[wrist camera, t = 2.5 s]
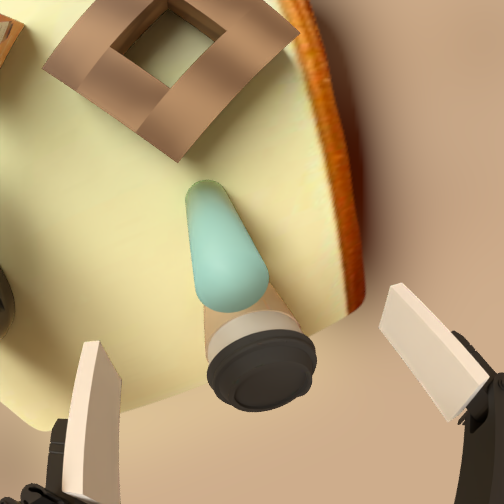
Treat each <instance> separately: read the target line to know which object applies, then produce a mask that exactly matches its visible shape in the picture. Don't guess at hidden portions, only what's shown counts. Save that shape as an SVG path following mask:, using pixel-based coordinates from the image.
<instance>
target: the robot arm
mask: <svg viewBox="0 0 504 504" xmlns="http://www.w3.org/2000/svg"><path fill="white" fill-rule="evenodd" d="M14 313H15V305H14V299H13V295H12V291H11V289H10V286H9V284H8V281H7V279H6V277H5V275H4V274H3V272H2V270H1V269H0V340H1V339H2V338H3V337H4V336H5V334H6V333H7V331H8V329H9V327H10V325H11V323H12V321H13V318H14ZM378 328H379V329H380V330H381V332H382V333H383V334H384V336H385V337H386V338H387V339H388V341H389V342H390V343H391V345H392V346H393V347H394V349H395V350H396V351H397V353H398V354H399V355H400V356H401V358H402V359H403V361H404V362H405V363H406V364H407V366H408V367H409V368H410V370H411V371H412V373H413V374H414V375H415V377H416V378H417V380H418V381H419V382H420V384H421V385H422V386H423V388H424V389H425V391H426V392H427V393H428V395H429V396H430V398H431V399H432V400H433V402H434V403H435V405H436V406H437V407H438V409H439V410H440V412H441V413H442V415H443V416H444V417H445V419H446V421H447V422H449V421H451V420H452V419H454V418H455V417H456V416H458V415H459V414H460V413H461V412H462V411H463V410H464V408H465V407H466V408H467V411H466V413H464V415H463V416H462V417H461V418H460V419H459V421H458V425H459V424H461V423H462V422H463V421H464V420H465V421H464V423H463V424H462V425H465V432H464V445H463V455H462V463H461V469H460V476H459V482H458V488H457V493H456V497H455V502H454V504H504V373H498V374H497V373H496V372H495V371H494V370H493V369H492V368H491V367H490V366H489V365H488V364H487V362H486V361H485V360H484V359H483V358H482V357H481V355H480V354H479V353H478V352H477V351H475V349H474V348H473V346H472V345H470V343H469V342H468V341H467V340H466V339H465V338H464V337H463V336H462V335H460V334H459V333H457V332H456V331H452V332H450V331H449V330H448V329H447V328H446V327H445V326H444V324H443V323H442V322H441V321H440V320H439V319H438V318H437V317H436V316H435V315H434V314H433V313H432V312H431V311H430V310H429V309H428V308H427V307H426V306H425V305H424V304H423V303H422V302H421V301H420V300H419V299H418V298H417V297H416V296H415V295H414V294H413V293H412V292H411V291H410V290H409V289H408V288H407V287H406V286H405V285H404V284H403V283H399V284H395V285H392V286H390V289H389V293H388V296H387V300H386V304H385V307H384V311H383V314H382V318H381V321H380V324H379V327H378ZM121 385H122V380H121V378H120V376H119V375H118V373H117V371H116V369H115V368H114V366H113V364H112V362H111V361H110V359H109V357H108V355H107V353H106V352H105V350H104V348H103V346H102V344H101V342H100V340H99V341H88V342H84V344H83V348H82V352H81V356H80V360H79V365H78V369H77V374H76V379H75V384H74V389H73V394H72V399H71V405H70V411H69V418H68V419H57V421H56V423H55V425H54V427H53V428H52V433H51V441H50V442H51V444H50V447H49V452H50V453H49V456H48V465H47V476H46V488H43V487H42V486H40V485H38V484H33V483H31V484H28V485H26V486H25V487H24V488H23V489H22V492H21V501H19V502H18V501H16V500H14V499H12V498H10V497H4V498H3V499H1V500H0V504H121V501H120V484H119V418H120V399H121Z"/></svg>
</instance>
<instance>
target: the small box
mask: <svg viewBox="0 0 504 504" xmlns="http://www.w3.org/2000/svg"><path fill="white" fill-rule="evenodd" d="M23 27H24V23H21V22H19V21H17V20H15V19H12V18H10V17H7V16H5V15H3V14H0V68H1V66H2V64H3V62H4V60H5V58H6V56H7V54H8V53H9V51H10V49H11V47H12V45H13V44H14V42H15V40H16V38H17V37H18V35H19V33H20V32H21V30H22V29H23Z"/></svg>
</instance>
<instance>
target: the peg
mask: <svg viewBox="0 0 504 504" xmlns="http://www.w3.org/2000/svg"><path fill="white" fill-rule="evenodd" d="M185 201H186V213H187V223H188V232H189V241H190V250H191V259H192V267H193V274H194V282H195V289H196V293H197V296H198V298H199V299H200V301H201V302H202V303H203V304H204V305H205V306H206V307H208V308H210V309H212V310H214V311H217V312H223V313H233V312H238V311H242V310H245V309H247V308H249V307H251V306H252V305H254V304H255V303H256V302H257V301H258V300H260V298H261V297H262V296H263V295H264V293H265V291H266V289H267V287H268V283H269V273H268V269H267V267H266V265H265V263H264V261H263V260H262V258H261V256H260V254H259V252H258V250H257V248H256V247H255V245H254V243H253V241H252V239H251V237H250V236H249V234H248V232H247V230H246V228H245V226H244V224H243V223H242V221H241V219H240V217H239V215H238V213H237V212H236V210H235V208H234V206H233V204H232V202H231V201H230V199H229V197H228V195H227V193H226V191H225V190H224V188H223V187H222V186H221V185H220V184H219V183H217V182H215V181H212V180H203V181H199V182H197V183H195V184H194V185H193V186H192V187H191V188H190V189H189V190H188V192H187V195H186V200H185Z"/></svg>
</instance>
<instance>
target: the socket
mask: <svg viewBox="0 0 504 504" xmlns="http://www.w3.org/2000/svg"><path fill="white" fill-rule="evenodd" d="M167 9H169V10H171V11H172V12H174V13H176V14H177V15H179V16H180V17H181V18H183V19H184V20H186V21H187V22H189V23H190V24H192V25H193V26H194V27H196V28H197V29H199V30H200V31H201V32H203V33H204V34H205V35H207V36H208V37H209V38H211V39H212V40H213V41H215V42H214V43H213V44H212V45H211V46H210V47H209V48H208V49H207V50H206V51H205V52H204V53H203V54H202V55H201V56H200V57H199V58H198V59H197V60H196V61H195V62H194V63H193V64H192V65H191V66H190V68H189V69H188V70H187V71H186V72H185V73H184V74H183V75H182V76H181V77H180V78H179V80H178V81H177V82H176V83H175V84H174V85H173V86H172V87H171V89H170V88H169V87H167V86H166V85H165V84H163V83H162V82H160V81H159V80H158V79H156V78H155V77H153V76H152V75H151V74H149V73H148V72H146V71H145V70H143V69H142V68H141V67H139V66H138V65H136V64H135V63H133V62H132V61H130V60H129V59H127V58H126V57H124V56H123V55H124V54H125V53H126V52H127V50H128V49H129V48H130V47H131V46H132V45H133V44H134V42H135V41H136V40H137V39H138V38H139V37H140V36H141V35H142V34H143V33H144V32H145V31H146V30H147V29H148V28H149V27H150V26H151V25H152V24H153V23H154V22H155V21H156V20H157V19H158V18H159V17H160V16H161V15H162V14H163V13H164V12H165V11H166V10H167ZM299 34H300V32H299V31H298V30H297V29H296V28H294V27H293V26H292V25H291V24H290V23H289V22H288V21H287V20H286V19H285V18H283V17H282V16H281V15H280V14H279V13H278V12H277V11H275V10H274V9H273V8H272V7H271V6H269V5H268V4H267V3H266V2H265V1H263V0H96V1H95V2H94V3H93V4H92V5H91V6H90V7H89V8H88V9H87V10H86V11H85V13H84V14H83V15H82V16H81V17H80V18H79V19H78V21H77V22H76V23H75V24H74V25H73V27H72V28H71V29H70V30H69V32H68V33H67V34H66V35H65V37H64V38H63V39H62V41H61V42H60V43H59V45H58V46H57V47H56V49H55V50H54V51H53V53H52V54H51V56H50V57H49V59H48V60H47V61H46V63H45V64H44V66H43V67H42V69H43V70H45V71H46V72H48V73H49V74H51V75H52V76H54V77H55V78H57V79H58V80H60V81H61V82H63V83H64V84H66V85H67V86H69V87H70V88H72V89H73V90H75V91H76V92H78V93H79V94H81V95H82V96H84V97H85V98H87V99H88V100H89V101H91V102H92V103H94V104H95V105H97V106H98V107H100V108H101V109H102V110H104V111H105V112H107V113H108V114H110V115H111V116H113V117H114V118H115V119H117V120H118V121H120V122H121V123H123V124H124V125H125V126H127V127H128V128H130V129H131V130H132V131H134V132H135V133H137V134H138V135H139V136H141V137H142V138H144V139H145V140H146V141H148V142H149V143H151V144H152V145H153V146H155V147H156V148H158V149H159V150H160V151H162V152H163V153H164V154H166V155H167V156H169V157H170V158H171V159H173V160H174V161H175V162H177V163H178V162H179V161H180V160H181V158H182V157H183V156H184V155H185V153H186V152H187V151H188V150H189V148H190V147H191V146H192V145H193V144H194V142H195V141H196V140H197V139H198V138H199V136H200V135H201V134H202V133H203V132H204V130H205V129H206V128H207V127H208V126H209V125H210V124H211V122H212V121H213V120H214V119H215V118H216V117H217V116H218V114H219V113H220V112H221V111H222V110H223V109H224V108H225V107H226V106H227V105H228V103H229V102H230V101H231V100H232V99H233V98H234V97H235V96H236V95H237V94H238V93H239V92H240V91H241V90H242V89H243V87H244V86H245V85H246V84H247V83H248V82H249V81H250V80H251V79H252V78H253V77H254V76H255V75H256V74H257V73H258V72H259V71H260V70H261V69H262V68H263V67H264V66H265V65H266V64H267V63H269V62H270V61H271V60H272V59H273V58H274V57H275V56H276V55H277V54H278V53H279V52H280V51H281V50H282V49H283V48H285V47H286V46H287V45H288V44H289V43H290V42H291V41H292V40H293V39H295V38H296V37H297V36H298V35H299Z"/></svg>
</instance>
